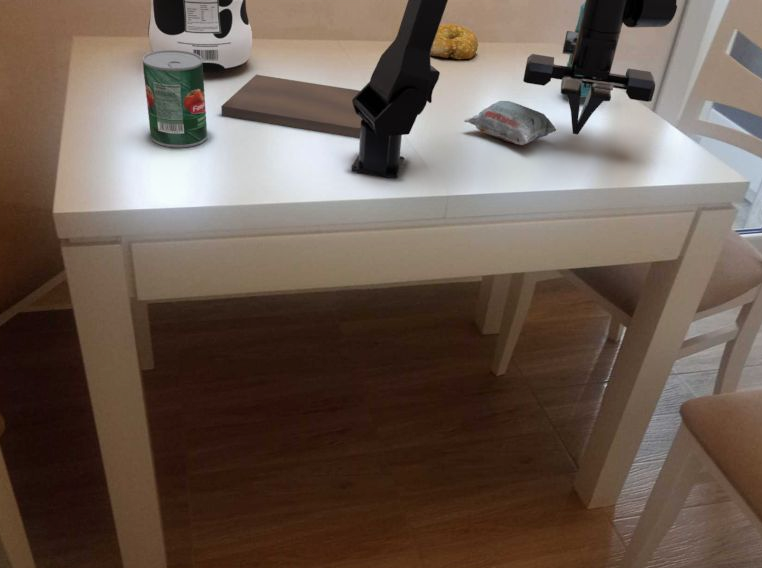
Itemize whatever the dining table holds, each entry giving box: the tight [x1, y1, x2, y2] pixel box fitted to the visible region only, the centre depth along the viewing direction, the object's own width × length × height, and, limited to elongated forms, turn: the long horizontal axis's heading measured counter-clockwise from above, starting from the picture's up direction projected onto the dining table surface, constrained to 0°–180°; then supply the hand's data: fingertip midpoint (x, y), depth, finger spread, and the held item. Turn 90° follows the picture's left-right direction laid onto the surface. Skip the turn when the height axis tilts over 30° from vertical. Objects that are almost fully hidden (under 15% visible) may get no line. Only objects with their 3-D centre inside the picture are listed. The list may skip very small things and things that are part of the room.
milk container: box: [147, 0, 253, 74], centre depth 130 cm, size 17×17×18 cm
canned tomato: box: [141, 50, 208, 149], centre depth 107 cm, size 8×8×11 cm
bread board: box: [220, 74, 362, 139], centre depth 123 cm, size 16×22×2 cm
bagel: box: [430, 23, 479, 60], centre depth 153 cm, size 10×11×5 cm
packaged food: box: [463, 100, 557, 146], centre depth 120 cm, size 9×12×5 cm
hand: (575, 133), depth 119 cm, fingers closed
